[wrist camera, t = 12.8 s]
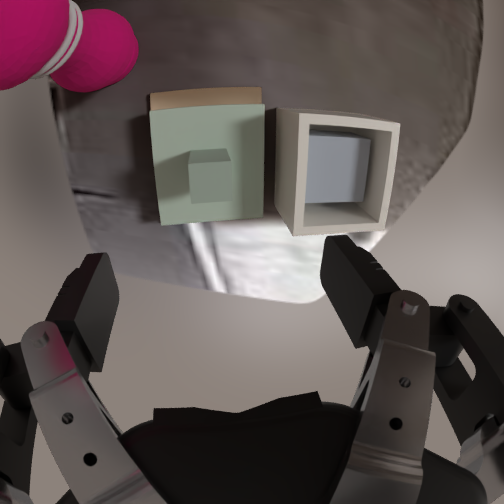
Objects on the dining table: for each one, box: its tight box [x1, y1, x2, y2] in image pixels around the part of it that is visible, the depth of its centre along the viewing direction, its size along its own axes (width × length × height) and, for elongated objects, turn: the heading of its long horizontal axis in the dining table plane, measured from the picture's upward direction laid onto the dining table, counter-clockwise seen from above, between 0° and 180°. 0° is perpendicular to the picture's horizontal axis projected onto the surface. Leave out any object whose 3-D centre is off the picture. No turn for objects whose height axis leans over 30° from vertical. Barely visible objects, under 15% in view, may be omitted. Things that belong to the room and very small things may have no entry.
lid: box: [149, 104, 265, 226], centre depth 23 cm, size 11×10×7 cm
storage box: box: [274, 108, 400, 236], centre depth 25 cm, size 10×9×7 cm
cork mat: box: [150, 87, 261, 111], centre depth 26 cm, size 13×10×1 cm
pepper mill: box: [0, 0, 139, 92], centre depth 11 cm, size 7×7×20 cm
